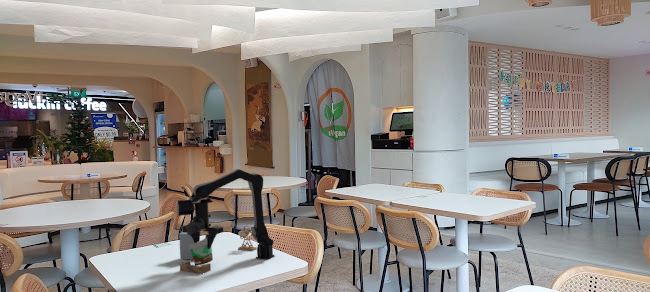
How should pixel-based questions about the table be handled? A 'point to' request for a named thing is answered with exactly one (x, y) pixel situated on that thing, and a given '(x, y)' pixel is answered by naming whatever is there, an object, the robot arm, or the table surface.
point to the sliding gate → (185, 246)
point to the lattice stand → (247, 248)
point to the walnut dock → (194, 268)
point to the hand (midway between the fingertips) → (203, 248)
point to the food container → (201, 252)
